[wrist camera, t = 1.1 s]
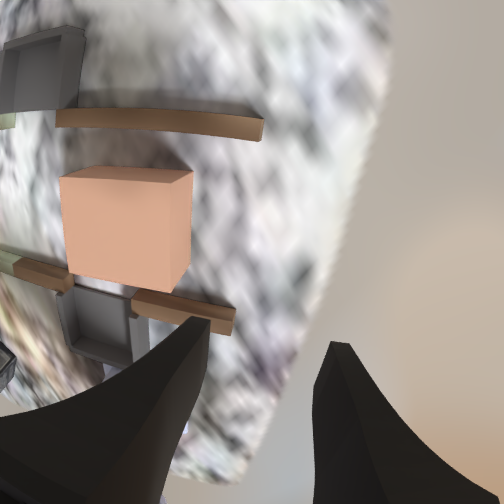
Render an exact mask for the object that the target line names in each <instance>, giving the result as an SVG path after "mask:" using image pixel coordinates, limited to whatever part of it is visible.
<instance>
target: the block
mask: <svg viewBox="0 0 504 504" xmlns="http://www.w3.org/2000/svg"><path fill="white" fill-rule="evenodd" d="M193 173H194V171H184V170H171V169H156V168H139V167H118V166H92V167H88V168H85V169H82V170H79V171H76V172H73V173H70V174H67V175H64V176H61V177H59V181H60V198H61V211H62V222H63V231H64V240H65V248H66V255H67V262H68V268H69V273H73V274H77V275H82V276H86V277H91V278H96V279H100V280H105V281H110V282H115V283H120V284H125V285H130V286H135V287H140V288H146V289H151V290H156V291H162V292H167V293H171V292H172V290H173V289H174V287H175V286H176V284H177V283H178V281H179V280H180V278H181V277H182V276H183V274H184V273H185V271H186V270H187V268H188V267H189V265H190V252H191V217H192V193H193Z"/></svg>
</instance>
